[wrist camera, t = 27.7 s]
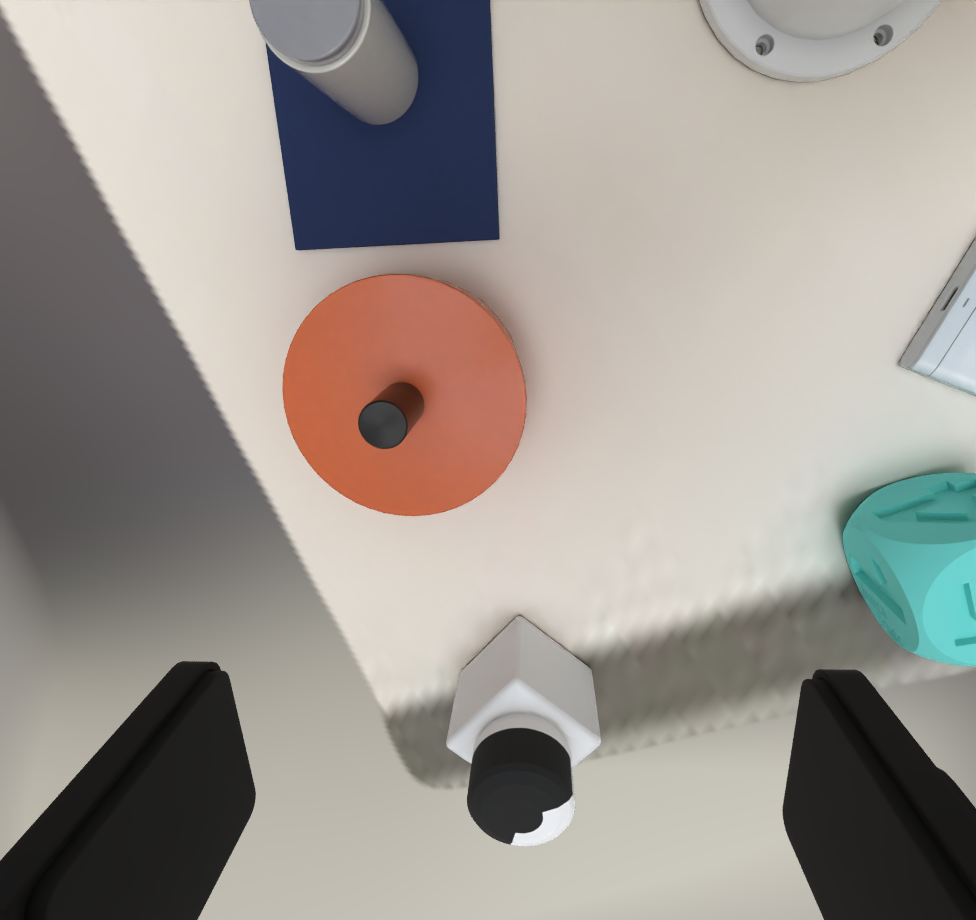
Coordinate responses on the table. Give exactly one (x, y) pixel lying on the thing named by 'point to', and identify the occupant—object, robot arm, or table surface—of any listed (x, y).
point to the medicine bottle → (523, 733)
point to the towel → (398, 143)
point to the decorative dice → (920, 563)
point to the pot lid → (404, 394)
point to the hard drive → (949, 332)
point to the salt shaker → (344, 52)
